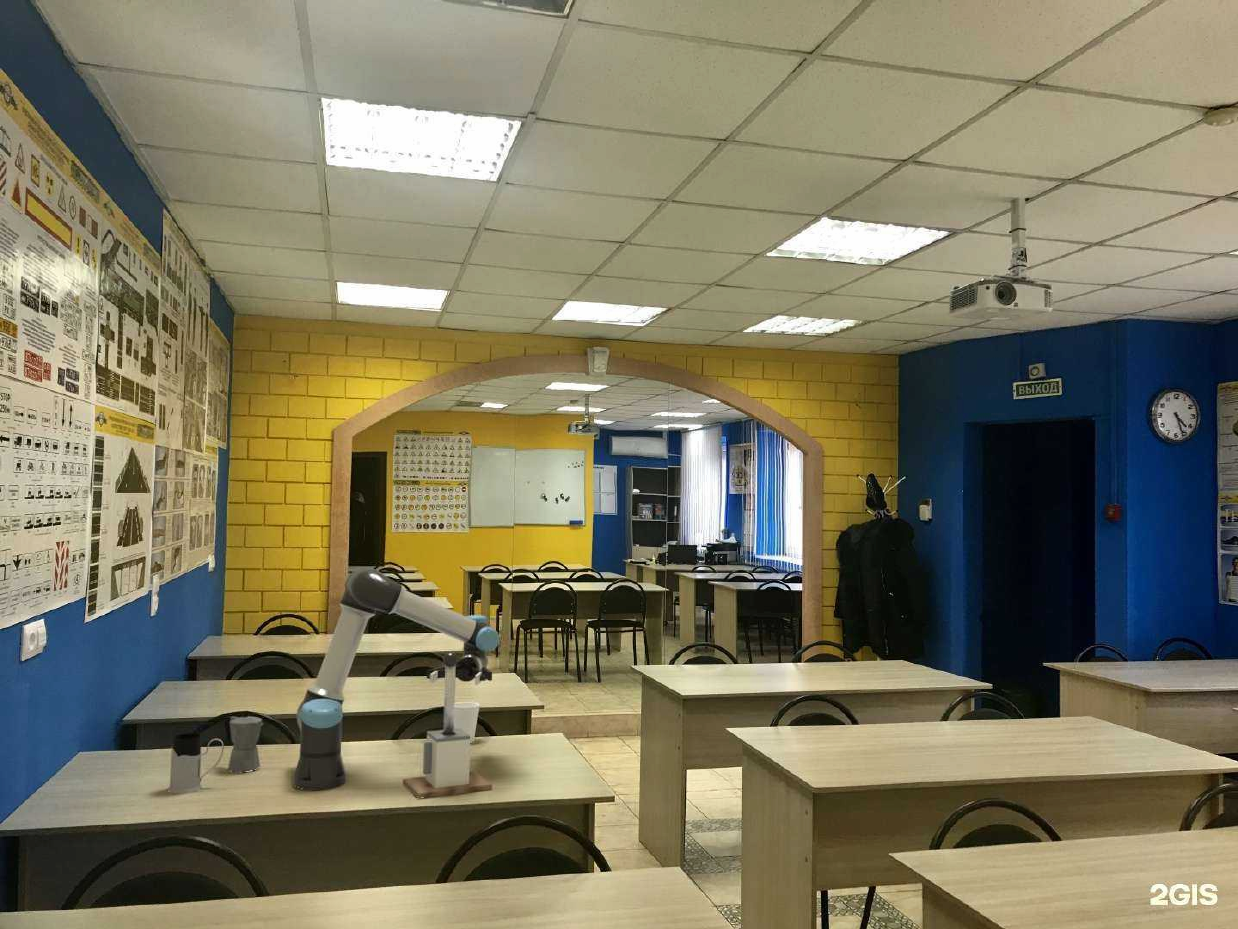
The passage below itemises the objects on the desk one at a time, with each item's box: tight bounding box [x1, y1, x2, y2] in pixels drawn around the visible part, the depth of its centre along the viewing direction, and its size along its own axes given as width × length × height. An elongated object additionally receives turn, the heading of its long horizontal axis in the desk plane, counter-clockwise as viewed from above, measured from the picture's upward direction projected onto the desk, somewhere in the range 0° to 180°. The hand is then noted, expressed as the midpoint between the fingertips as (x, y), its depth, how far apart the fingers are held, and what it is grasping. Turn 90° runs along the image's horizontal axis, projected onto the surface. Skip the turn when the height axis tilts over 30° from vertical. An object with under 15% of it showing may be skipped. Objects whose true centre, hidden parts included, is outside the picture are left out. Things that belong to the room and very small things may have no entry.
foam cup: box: [454, 701, 480, 744], centre depth 325 cm, size 10×9×13 cm
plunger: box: [442, 651, 459, 736], centre depth 273 cm, size 7×7×26 cm
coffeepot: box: [223, 710, 264, 773], centre depth 286 cm, size 15×9×18 cm, turn 67°
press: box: [422, 728, 471, 788], centre depth 271 cm, size 12×10×14 cm
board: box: [402, 770, 493, 799], centre depth 272 cm, size 22×16×2 cm
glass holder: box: [167, 732, 225, 795], centre depth 266 cm, size 9×14×15 cm, turn 111°
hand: (453, 679), depth 275 cm, fingers open, 13 cm apart
